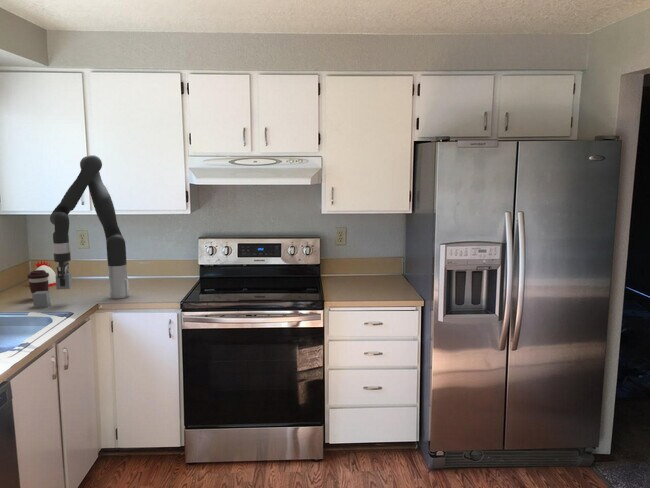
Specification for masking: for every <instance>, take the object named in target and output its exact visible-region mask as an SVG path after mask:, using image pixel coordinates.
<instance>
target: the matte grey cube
mask: <svg viewBox="0 0 650 488" xmlns="http://www.w3.org/2000/svg"><path fill="white" fill-rule="evenodd" d="M60 276H62V275H60ZM55 286H56V290H70V289H71V288H73V277H72V272H69V273H66V274H65V286H60V279H58V274H56V285H55Z"/></svg>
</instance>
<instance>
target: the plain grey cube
mask: <svg viewBox="0 0 650 488" xmlns="http://www.w3.org/2000/svg"><path fill="white" fill-rule="evenodd" d="M32 301H33V308H34V309H40V308H42V309H44V308H48V307H49V306H50V305H51V295H50V290H48V291H37V292H35V293H34V294H33V299H32Z"/></svg>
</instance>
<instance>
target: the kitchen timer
mask: <svg viewBox="0 0 650 488" xmlns="http://www.w3.org/2000/svg"><path fill="white" fill-rule="evenodd" d="M48 262H49V261H46V260H45V259H43V260H40V261H39V260H37V263H36V262H35V263H34V264H35V266H36V269H35V270H34V271H36V270H45V271H46V273H49V277H48V288H50V287H54V286H56V275H57V274H56V272H55V271H54V270H53V268H52V267H51V264H52V263H51V262H50V263H49V265H48Z"/></svg>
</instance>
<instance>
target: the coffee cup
mask: <svg viewBox="0 0 650 488" xmlns="http://www.w3.org/2000/svg"><path fill="white" fill-rule="evenodd" d="M35 270H36V269H35ZM35 270H32V271H30V273H29V274H27V275H26V276H27V279H28V280H29V281H28V283H29V288H30V293H31V298H32V300H33V294H34V293H35V292H37V291H49V287H48V277H49V273H46V271H45V270H36V271H35Z"/></svg>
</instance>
